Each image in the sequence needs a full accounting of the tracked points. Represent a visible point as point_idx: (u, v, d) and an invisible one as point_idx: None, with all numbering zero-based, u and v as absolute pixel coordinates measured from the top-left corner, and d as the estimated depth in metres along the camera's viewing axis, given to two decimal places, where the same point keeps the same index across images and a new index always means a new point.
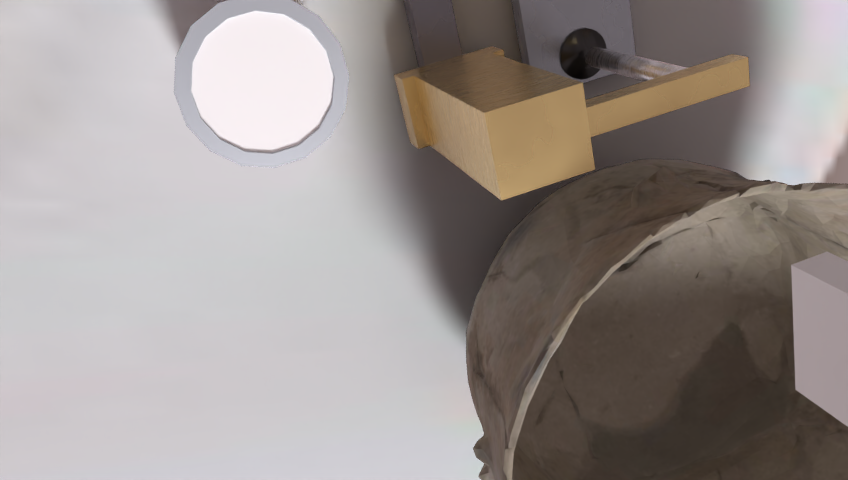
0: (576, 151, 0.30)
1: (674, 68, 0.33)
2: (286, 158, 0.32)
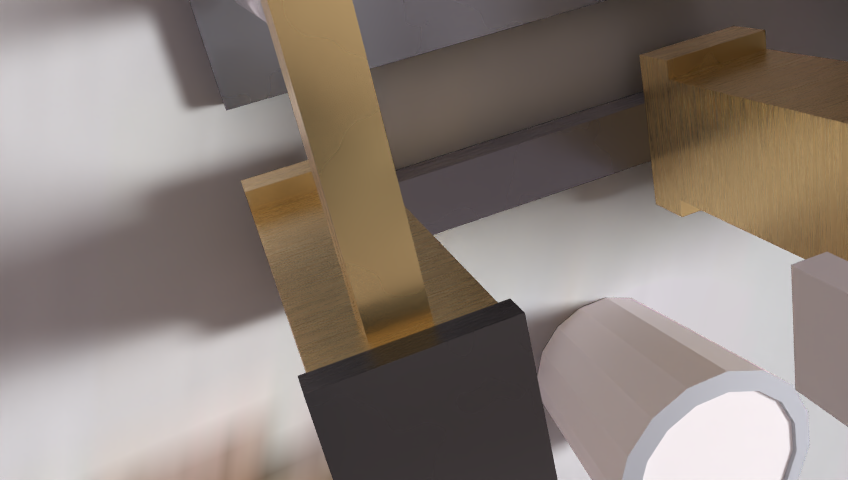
0: None
1: None
2: (803, 433, 0.24)
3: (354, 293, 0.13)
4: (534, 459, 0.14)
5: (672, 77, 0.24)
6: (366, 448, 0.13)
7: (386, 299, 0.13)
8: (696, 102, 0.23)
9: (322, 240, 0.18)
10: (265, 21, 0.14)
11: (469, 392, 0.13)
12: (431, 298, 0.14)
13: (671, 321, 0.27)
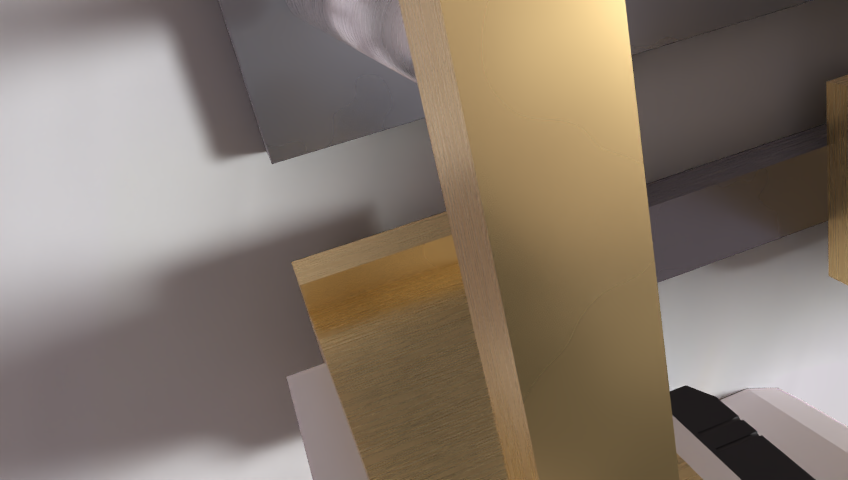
0: None
1: None
2: None
3: None
4: None
5: None
6: None
7: None
8: None
9: (429, 383, 0.12)
10: (374, 58, 0.08)
11: None
12: None
13: (846, 430, 0.20)
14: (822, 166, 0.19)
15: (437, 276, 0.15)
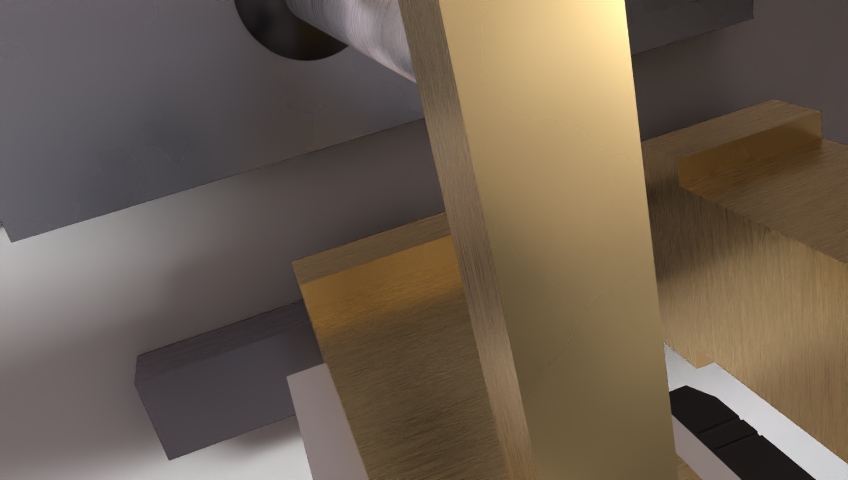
0: None
1: None
2: None
3: None
4: None
5: (685, 182, 0.16)
6: None
7: None
8: (721, 227, 0.15)
9: (428, 384, 0.12)
10: (374, 58, 0.08)
11: None
12: None
13: None
14: None
15: (437, 276, 0.15)
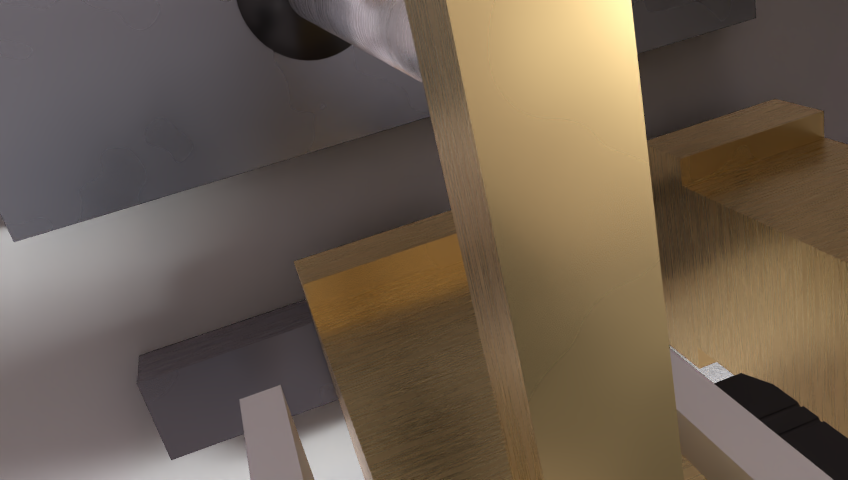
0: None
1: None
2: None
3: None
4: None
5: (687, 182, 0.16)
6: None
7: None
8: (723, 226, 0.15)
9: (431, 383, 0.12)
10: (378, 58, 0.08)
11: None
12: None
13: None
14: None
15: (439, 276, 0.15)
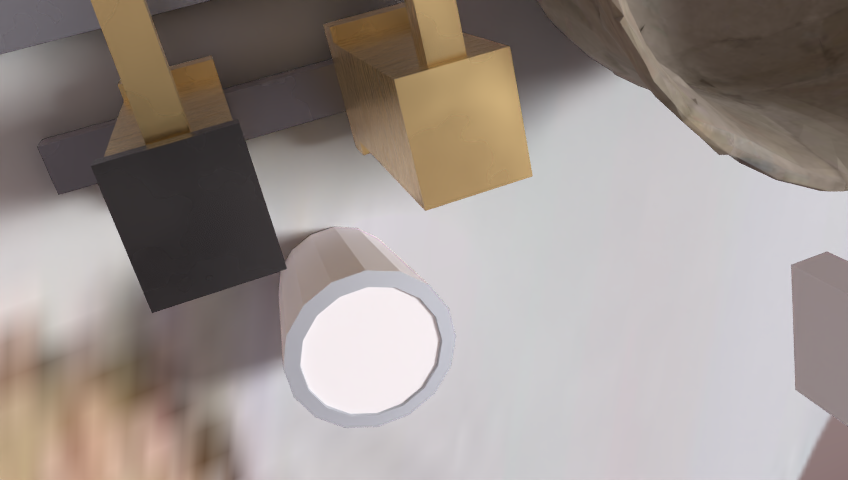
0: (483, 77, 0.22)
1: None
2: (447, 326, 0.31)
3: (133, 111, 0.20)
4: (259, 228, 0.21)
5: (336, 41, 0.30)
6: (137, 207, 0.20)
7: (156, 117, 0.21)
8: (343, 59, 0.29)
9: None
10: None
11: (206, 175, 0.20)
12: (197, 126, 0.22)
13: (368, 242, 0.33)
14: (333, 76, 0.32)
15: (191, 83, 0.29)
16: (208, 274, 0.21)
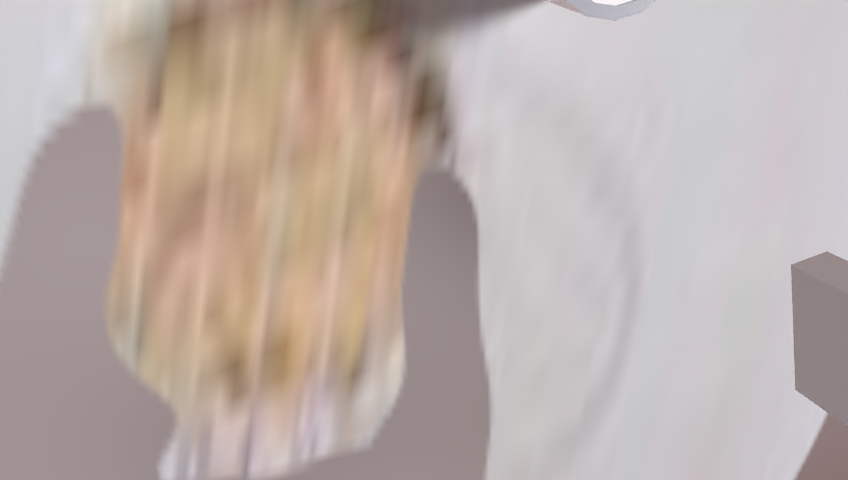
0: None
1: None
2: None
3: None
4: None
5: None
6: None
7: None
8: None
9: None
10: None
11: None
12: None
13: None
14: None
15: None
16: None
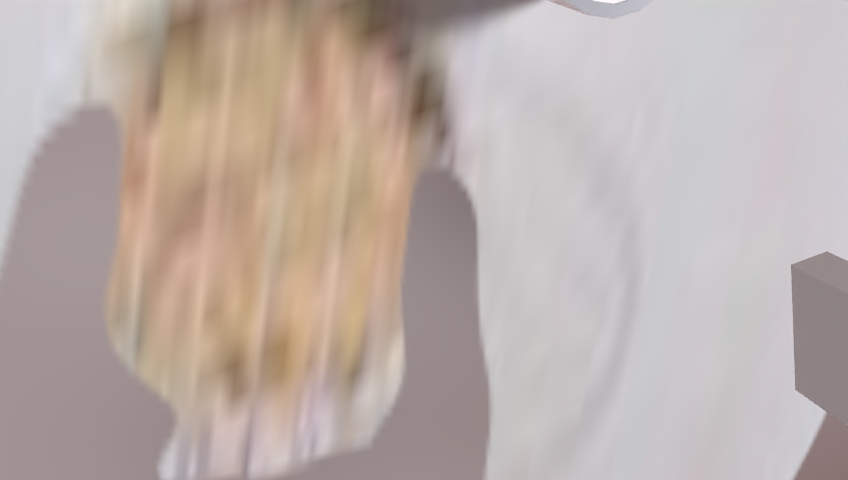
0: None
1: None
2: None
3: None
4: None
5: None
6: None
7: None
8: None
9: None
10: None
11: None
12: None
13: None
14: None
15: None
16: None
